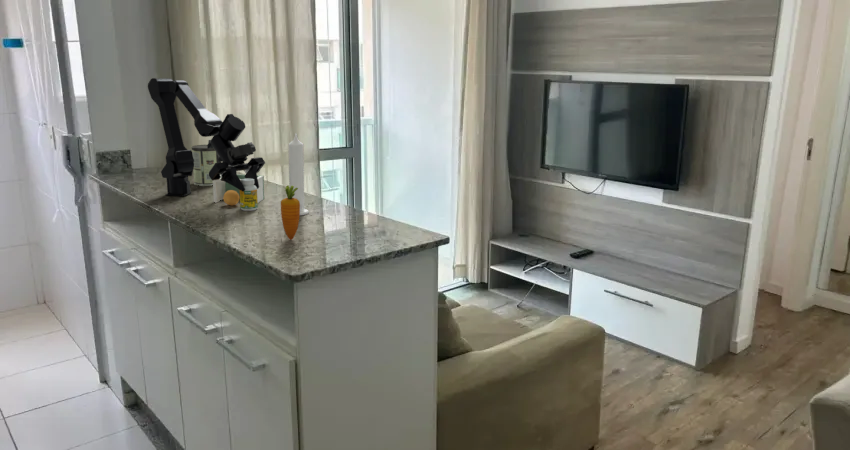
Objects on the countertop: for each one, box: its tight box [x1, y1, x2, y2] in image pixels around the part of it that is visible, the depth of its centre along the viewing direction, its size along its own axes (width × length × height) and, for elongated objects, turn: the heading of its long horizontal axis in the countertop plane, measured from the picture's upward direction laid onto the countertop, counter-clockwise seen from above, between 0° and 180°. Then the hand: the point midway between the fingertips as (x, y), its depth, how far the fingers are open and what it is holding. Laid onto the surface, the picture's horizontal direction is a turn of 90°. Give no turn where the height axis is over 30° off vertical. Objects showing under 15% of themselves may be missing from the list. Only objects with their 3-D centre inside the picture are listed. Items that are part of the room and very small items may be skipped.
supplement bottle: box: [239, 178, 259, 212], centre depth 197 cm, size 5×5×10 cm
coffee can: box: [191, 144, 221, 187], centre depth 234 cm, size 10×10×14 cm
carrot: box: [280, 184, 301, 241], centre depth 164 cm, size 5×5×15 cm
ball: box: [222, 190, 240, 206], centre depth 202 cm, size 5×5×5 cm
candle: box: [288, 132, 309, 216], centre depth 192 cm, size 7×7×25 cm
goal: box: [212, 173, 265, 204], centre depth 209 cm, size 14×9×8 cm, turn 87°
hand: (251, 189), depth 196 cm, fingers closed on supplement bottle, 5 cm apart
